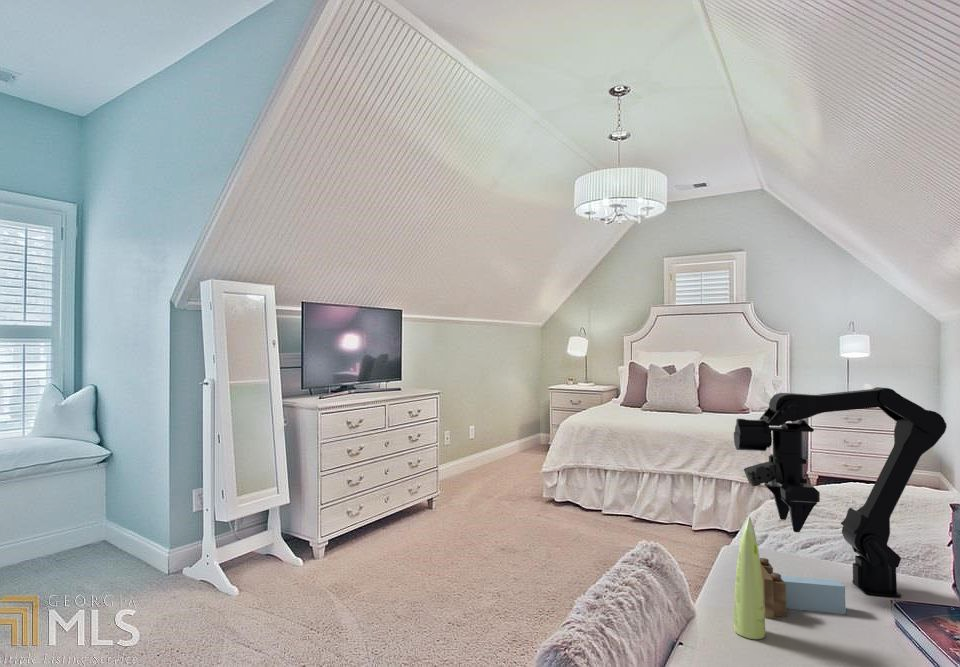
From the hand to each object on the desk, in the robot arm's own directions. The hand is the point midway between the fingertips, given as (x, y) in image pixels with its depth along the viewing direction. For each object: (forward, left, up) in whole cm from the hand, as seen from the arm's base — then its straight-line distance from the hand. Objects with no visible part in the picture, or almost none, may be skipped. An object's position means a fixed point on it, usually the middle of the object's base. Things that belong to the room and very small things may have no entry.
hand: (789, 525), depth 118 cm
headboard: (+8, +12, -12) cm, 19 cm away
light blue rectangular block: (+1, +12, -12) cm, 17 cm away
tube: (+14, +26, -12) cm, 32 cm away
